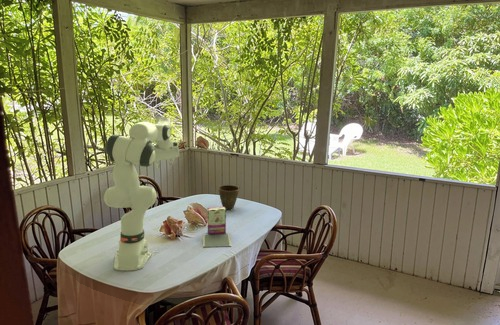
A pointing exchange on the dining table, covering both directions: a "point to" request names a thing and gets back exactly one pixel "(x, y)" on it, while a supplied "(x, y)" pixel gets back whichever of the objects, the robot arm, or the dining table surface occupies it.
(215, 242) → the mat
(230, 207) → the plant pot
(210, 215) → the candy bar box
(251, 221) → the dining table surface
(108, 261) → the dining table surface
